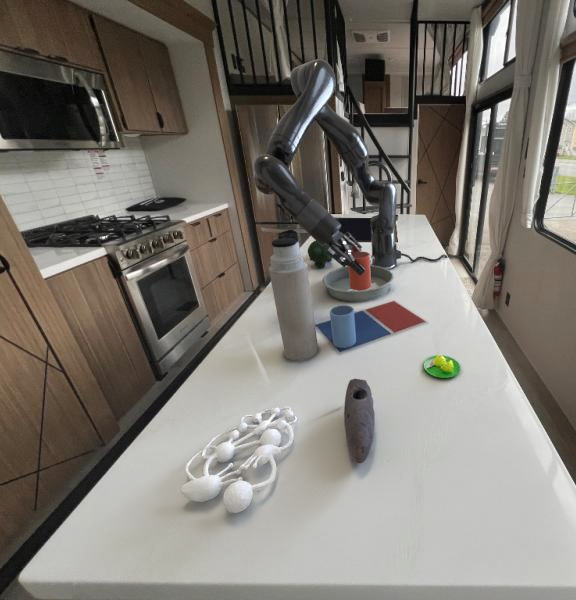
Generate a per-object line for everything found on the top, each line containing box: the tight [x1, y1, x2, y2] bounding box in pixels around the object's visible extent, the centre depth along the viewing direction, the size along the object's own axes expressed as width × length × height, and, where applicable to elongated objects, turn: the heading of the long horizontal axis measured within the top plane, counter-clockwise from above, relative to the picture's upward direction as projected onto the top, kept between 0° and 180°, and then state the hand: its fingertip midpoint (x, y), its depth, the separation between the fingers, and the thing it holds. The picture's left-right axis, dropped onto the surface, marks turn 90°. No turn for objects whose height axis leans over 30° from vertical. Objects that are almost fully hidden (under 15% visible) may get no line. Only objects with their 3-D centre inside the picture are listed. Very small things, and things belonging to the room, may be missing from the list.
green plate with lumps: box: [423, 354, 461, 379], centre depth 72 cm, size 8×8×3 cm
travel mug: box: [277, 229, 301, 253], centre depth 111 cm, size 6×7×20 cm
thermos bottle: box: [268, 238, 319, 361], centre depth 73 cm, size 8×8×28 cm
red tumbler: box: [348, 250, 372, 291], centre depth 87 cm, size 6×6×9 cm
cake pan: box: [322, 264, 395, 302], centre depth 112 cm, size 25×25×4 cm
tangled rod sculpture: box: [180, 406, 298, 514], centre depth 52 cm, size 19×14×4 cm
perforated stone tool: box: [343, 378, 375, 465], centre depth 55 cm, size 15×5×7 cm, turn 3°
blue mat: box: [315, 310, 392, 353], centre depth 88 cm, size 15×16×1 cm
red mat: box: [365, 300, 426, 333], centre depth 94 cm, size 10×16×1 cm, turn 32°
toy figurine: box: [307, 240, 333, 269], centre depth 136 cm, size 9×19×25 cm
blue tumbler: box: [329, 304, 356, 348], centre depth 80 cm, size 6×6×9 cm
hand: (365, 268), depth 86 cm, fingers closed on red tumbler, 6 cm apart
